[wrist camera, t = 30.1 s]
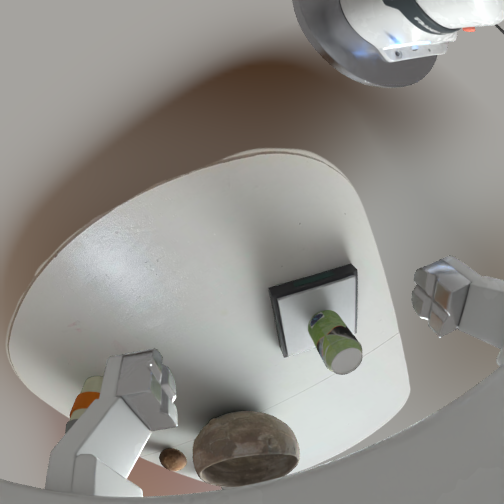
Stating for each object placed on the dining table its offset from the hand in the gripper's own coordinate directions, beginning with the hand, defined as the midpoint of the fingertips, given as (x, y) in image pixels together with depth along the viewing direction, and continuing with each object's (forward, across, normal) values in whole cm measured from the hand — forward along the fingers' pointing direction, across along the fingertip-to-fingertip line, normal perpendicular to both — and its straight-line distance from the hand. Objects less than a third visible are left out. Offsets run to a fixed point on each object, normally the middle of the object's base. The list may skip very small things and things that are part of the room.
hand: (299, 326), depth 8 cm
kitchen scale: (+34, -11, +30) cm, 47 cm away
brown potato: (+34, +32, +70) cm, 84 cm away
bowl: (+34, +10, +60) cm, 70 cm away
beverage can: (+31, -11, +30) cm, 45 cm away
